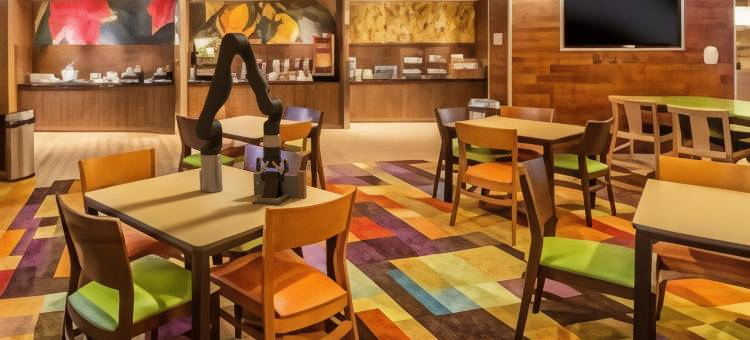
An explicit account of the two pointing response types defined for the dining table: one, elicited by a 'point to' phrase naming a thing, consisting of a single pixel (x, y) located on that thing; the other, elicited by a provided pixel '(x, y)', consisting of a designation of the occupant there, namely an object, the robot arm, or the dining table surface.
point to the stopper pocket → (272, 200)
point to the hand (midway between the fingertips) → (272, 181)
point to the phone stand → (272, 185)
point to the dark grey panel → (285, 185)
